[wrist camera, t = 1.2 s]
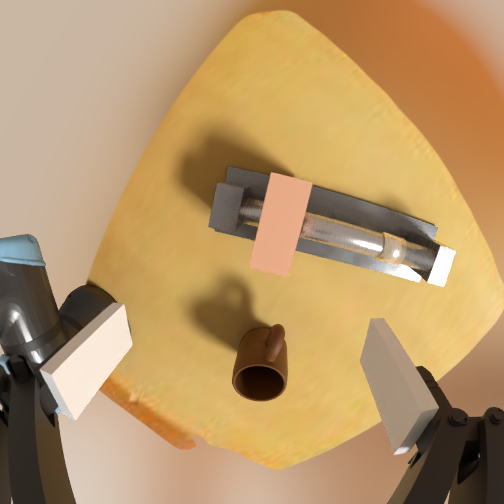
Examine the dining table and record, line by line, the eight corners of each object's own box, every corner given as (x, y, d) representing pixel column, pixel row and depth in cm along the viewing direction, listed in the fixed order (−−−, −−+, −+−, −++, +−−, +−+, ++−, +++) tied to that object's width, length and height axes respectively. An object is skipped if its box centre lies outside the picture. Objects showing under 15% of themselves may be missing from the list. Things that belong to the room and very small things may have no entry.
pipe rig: (215, 230, 38) (200, 243, 30) (229, 166, 35) (216, 163, 28) (417, 280, 37) (440, 301, 29) (435, 226, 34) (463, 237, 27)
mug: (256, 295, 40) (249, 329, 31) (304, 310, 40) (310, 346, 31) (234, 355, 43) (224, 394, 34) (277, 367, 43) (276, 407, 34)
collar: (256, 244, 36) (248, 267, 27) (273, 173, 34) (271, 172, 25) (285, 251, 36) (287, 277, 27) (303, 181, 34) (312, 182, 24)
